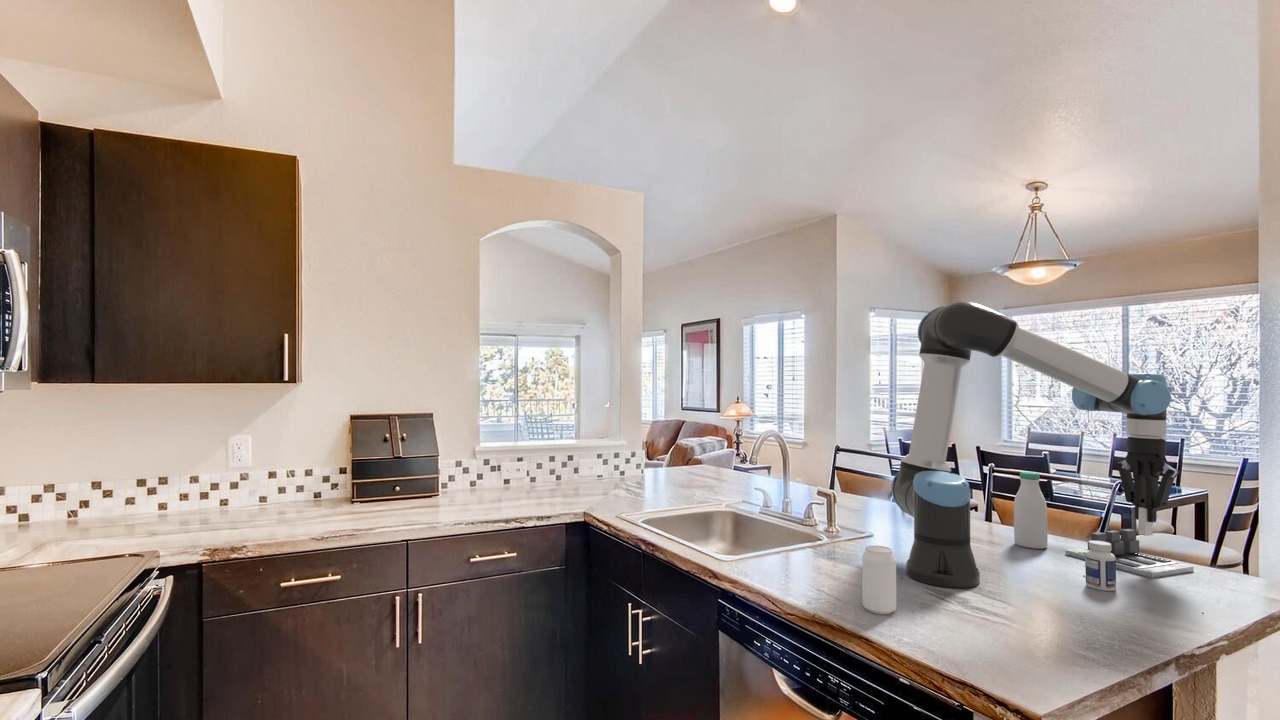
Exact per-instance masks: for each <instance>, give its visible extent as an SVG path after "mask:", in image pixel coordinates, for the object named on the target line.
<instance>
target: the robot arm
mask: <svg viewBox="0 0 1280 720" xmlns="http://www.w3.org/2000/svg"><path fill="white" fill-rule="evenodd" d="M917 337H918V340H919V343H920V347H919V353H918V354H919V355H918V356H919V357H920V359H921V360H922V361H923V368H922V369H923V370H922V373H921V374H922V375H921V378H920V379H921V380H920V385H919V391H918V392H919V393H918V398H917V404H916V409H915V417H914V421H913V428H912V433H911V439H910V446H909V451H908V454H907V455H906V456H905V457H903V458H901V459H900V464H899V465H900V466H899V471H898V472H897V473H896V474H894V476H893V479H892V481H891V485H890V493H891V496H892V499H893V501H894V502H895V503H896V505H897V506H898V507H899V509H900V510H901V511H902V512H904V513H905V514H907V515H908V516H911V517H912V518H913V543H912V547H911V549H910V553H909V558H908V559H907V561H906V565H905V567H906V569H905V570H906V571H905V572H906V575H907V576H908V577H910V578H911V579H912V580H915V581H918V582H920V583H924V584H928V585H932V586H937V587H943V588H953V589H954V588H955V589H957V588H958V589H960V588H961V589H962V588H963V589H965V588H973V587H977V586H978V585H979V584H981V583H980V582H981V576H980V575H981V573H980V571H979V568H978V567H977V564H976V560H975V557H974V553H973V550H972V546H971V496H972V495H971V491H970V484H969V482H968V480H967V479H966V478H965V477H963V476H961V475H959V474H957V473H952V468H950V466H949V465H948V463H947V457H948V451H949V450H948V449H949V443H950V438H951V433H952V425H953V420H954V414H955V408H956V402H957V396H958V392H959V391H958V390H959V386H960V381H961V380H960V379H961V375H962V374H961V373H962V368H963V367H964V366H966V365H968V364H969V363H970V362H971V355H972V351H975V352H978V353H982V354H985V355H988V356H990V357H992V358H997V357H998V358H999V357H1003V358H1005V359H1008V360H1011V361H1013V362H1016V363H1017V364H1020V365H1022V366H1024V367H1026V368H1029V369H1031V370H1033V371H1035V372H1038V373H1040V374H1042V375H1045V376H1047V377H1049V378H1052V379H1054V380H1056V381H1059V382H1061V383H1063V384H1065V385H1068V386H1069V387H1072V389H1071V400H1072V403H1073V405H1074V406H1075V408H1076V409H1078V410H1080V411H1090V412H1109V413H1110V412H1111V413H1123V414H1126V435H1128V436H1127V437H1126V442H1125V443H1126V444H1125V445H1126V446H1125V447H1126V451H1127V454H1126V456H1125V459H1124V460H1122V461H1119V462H1118V461H1117V462H1115V463H1114V466H1115V468H1116V469H1117V470H1118V472H1119V476H1120V481H1121V485H1122V489H1123V493H1124V499H1125V501H1126V502H1127V503H1130V504H1132V505H1134V513H1135V514H1134V518H1135V520H1137V521H1138V535H1140V536H1146V537H1147V536H1154V534H1153V533H1154V525H1153V524H1154V523H1156V522H1157V521H1158V520H1157V518H1158V517H1157V512H1158V511H1157V510H1158V509H1161V508H1166V507H1167V505H1168V502H1169V498H1170V496H1171V492H1172V488H1173V485H1174V482H1175V478H1176V477H1178V475H1179V474H1180V470H1179V468H1178V469H1177V468H1174V467H1172V466H1171V465H1169V462H1168V460H1167V443H1168V442H1167V440H1166V439H1165V437H1167V415H1168V414H1167V409H1168V408H1169V406H1170V403H1172V402H1171V401H1172V395H1171V394H1172V393H1171V391H1170V389H1169V388H1168V384H1167V378H1166V376H1165V375H1164V374H1162V373H1138V372H1137V373H1127V372H1124V371H1122V370H1120V369H1118V368H1115V367H1113V366H1110V365H1108V364H1106V363H1103V362H1101V361H1099V360H1096V359H1094V358H1092V357H1090V356H1087V355H1086V354H1084V353H1080V352H1079V351H1076V350H1075V349H1071V348H1070V347H1067V346H1065V345H1062V344H1060V343H1058V342H1055V341H1053V340H1051V339H1049V338H1048V337H1047V338H1046V337H1043V336H1042V335H1040V334H1038V333H1035V332H1033V331H1030V330H1028V329H1026V328H1023V327H1021V326H1019V322H1018V321H1017V320H1016V319H1015V318H1012V317H1010V316H1008V315H1005V314H1003V313H1001V312H998V311H996V310H994V309H992V308H990V307H986V306H984V305H982V304H978V303H976V302H971V301H956V302H953V303H951V304H948V305H943V306H938V307H936V308H934V309H932V310H930V311H929V312H927V314H925V315H924V316H923V318H921V320H920V322H919V323H918V327H917ZM1131 470H1132V472H1131ZM1161 473H1162V474H1163V475H1162V477H1161V479H1160V474H1161ZM1159 480H1160V482H1159Z"/></svg>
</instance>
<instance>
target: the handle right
mask: <svg viewBox="0 0 1280 720" xmlns="http://www.w3.org/2000/svg"><path fill="white" fill-rule="evenodd" d="M1120 541H1122V542H1124V552H1127V553H1140V551H1141V550H1140V539H1136V529H1132V528H1121V529H1120Z"/></svg>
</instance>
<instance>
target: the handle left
mask: <svg viewBox="0 0 1280 720" xmlns="http://www.w3.org/2000/svg"><path fill="white" fill-rule="evenodd" d="M1090 541H1103V542H1106V534H1105V532H1100V531H1098V532H1091V533H1090ZM1087 547H1088V550H1090V548H1089V541H1087Z"/></svg>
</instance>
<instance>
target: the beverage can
mask: <svg viewBox="0 0 1280 720" xmlns="http://www.w3.org/2000/svg"><path fill="white" fill-rule="evenodd" d="M861 558H862V559H861V564H862V565H861V568H862V569H861V572H862V573H861V574H862V575H861V578H862V580H861V582H862V583H861V584H862V587H861V589H862V590H861V591H862V593H861V594H862V605H863V606H862V607H864V608H865V609H866V610H868V612H870V613H872V614H876V615H883V616H884V615H889V614H892V612H895V611H896V610H897V559H896V557H895V555H894V553H893V549H892V548H891V547H888V546H883V545H873V544H872V545H866V546H865V550H864V552H863V554H862V556H861Z"/></svg>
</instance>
